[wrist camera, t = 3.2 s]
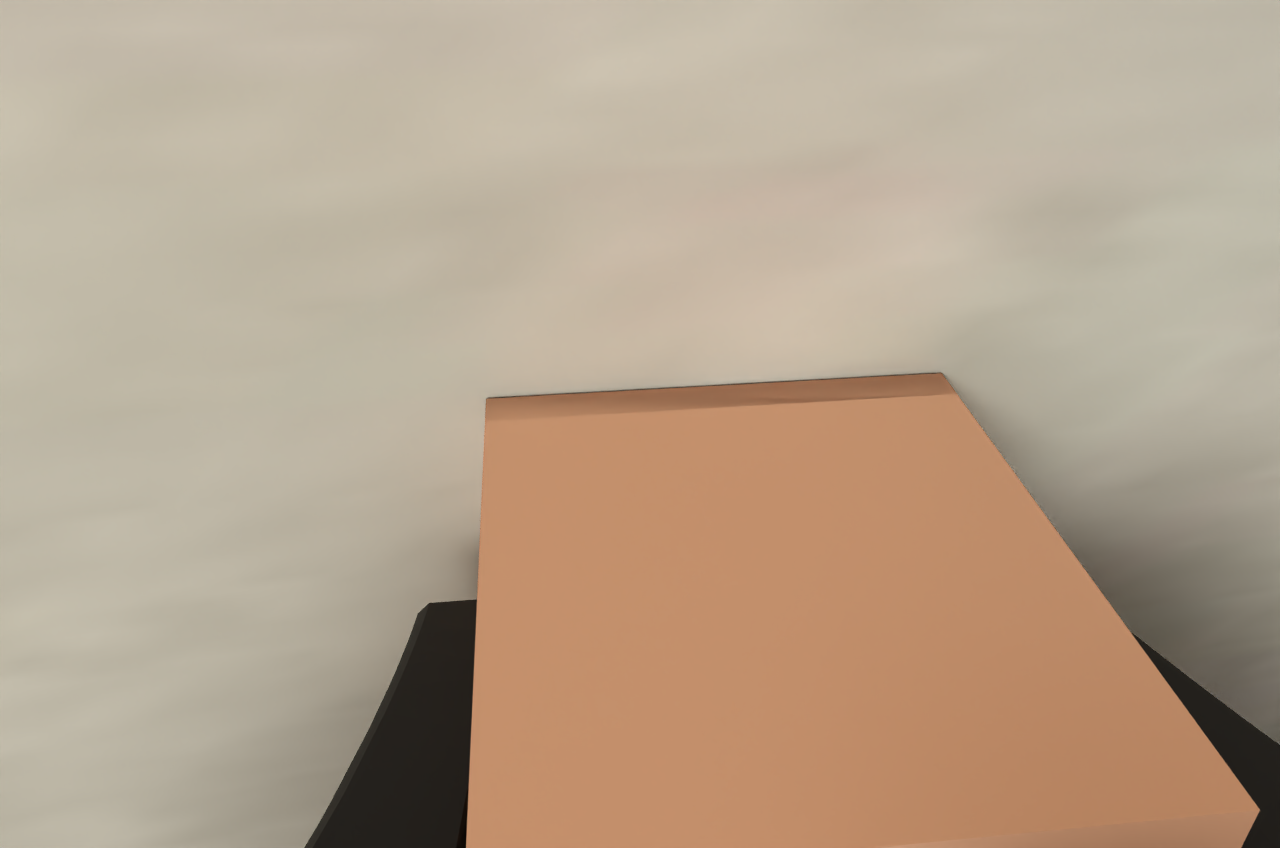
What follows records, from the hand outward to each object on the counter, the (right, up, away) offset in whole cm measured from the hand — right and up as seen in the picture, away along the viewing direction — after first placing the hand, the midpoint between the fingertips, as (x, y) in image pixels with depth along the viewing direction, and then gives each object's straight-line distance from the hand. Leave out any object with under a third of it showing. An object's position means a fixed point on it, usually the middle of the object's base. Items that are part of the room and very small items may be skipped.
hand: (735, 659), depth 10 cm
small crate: (0, +1, +1) cm, 1 cm away
